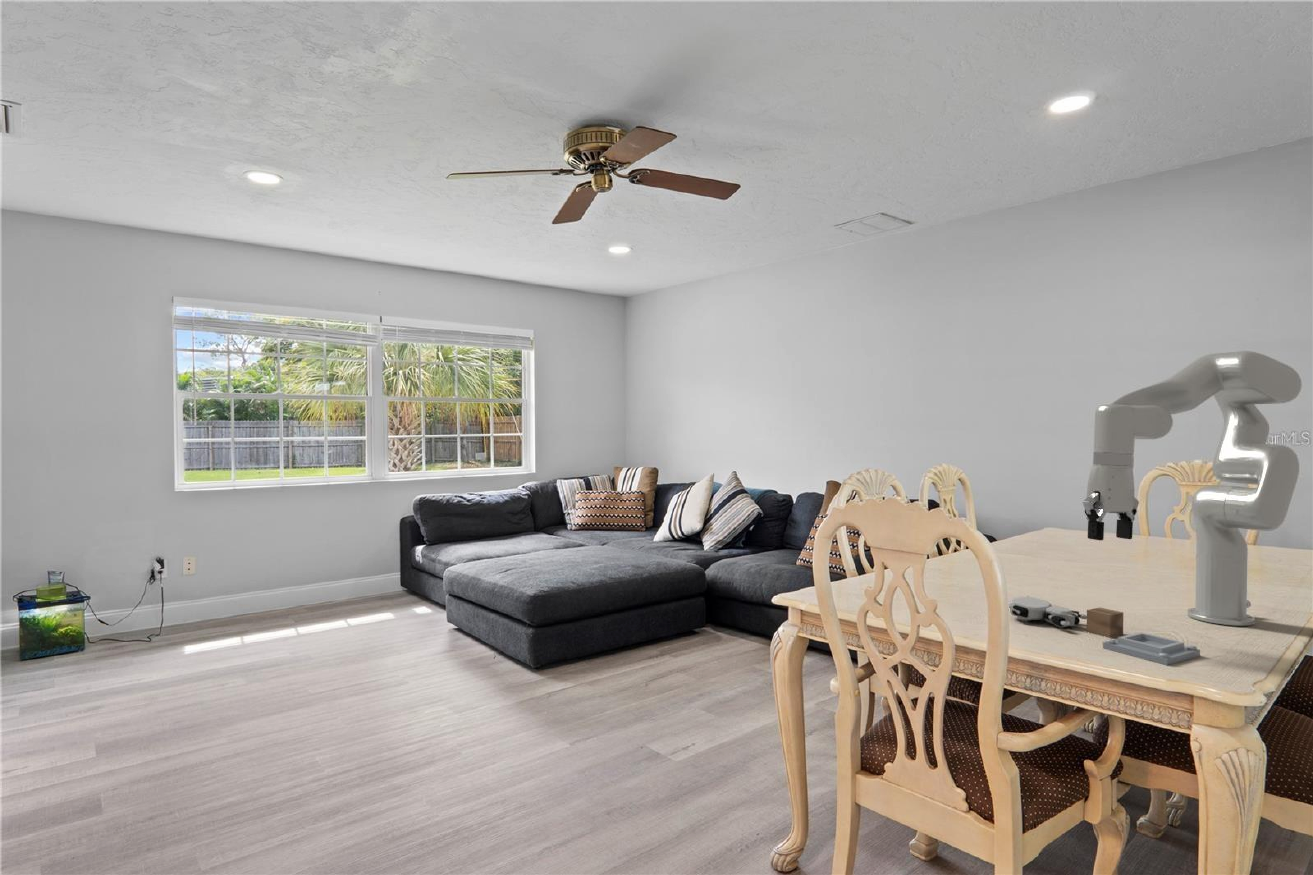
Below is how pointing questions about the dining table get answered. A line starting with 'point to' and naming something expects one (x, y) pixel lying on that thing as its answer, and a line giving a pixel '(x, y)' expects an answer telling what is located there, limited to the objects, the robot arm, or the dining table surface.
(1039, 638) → the dining table surface
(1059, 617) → the robot toy
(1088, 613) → the walnut cube
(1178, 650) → the base plate
